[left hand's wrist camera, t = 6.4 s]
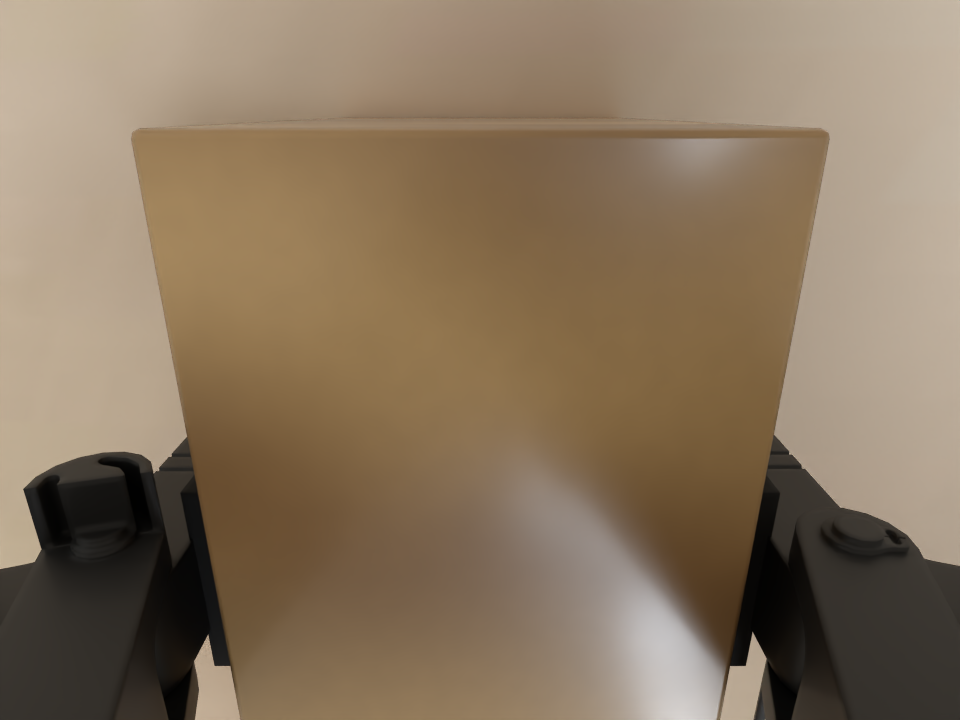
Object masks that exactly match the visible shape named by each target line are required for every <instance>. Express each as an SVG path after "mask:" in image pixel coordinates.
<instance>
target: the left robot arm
mask: <svg viewBox="0 0 960 720" xmlns="http://www.w3.org/2000/svg"><path fill="white" fill-rule="evenodd" d="M801 466H802V465H801V464H800V463H799V462H798V461H797V460H796V459H795V458H794V456H793V455H789V451H788V450H787V449H786V448H785V447H784V445H783V444H782V443H781V442H780V441H779V440H778V439H777V438H776V437H775V435H773V441H772V446H771V451H770V457H769V462H768V467H767V472H766V478H765V483H764V488H763V494H762V499H761V504H760V510H759V515H758V520H757V525H756V531H755V536H754V541H753V547H752V552H751V557H750V563H749V568H748V573H747V578H746V584H745V589H744V594H743V600H742V605H741V610H740V616H739V621H738V626H737V631H736V637H735V642H734V647H733V653H732V658H731V663H730V666H746V662H747V657H748V652H749V647H750V642H751V637H752V632H753V633H754V635H755V637H756V639H757V641H758V643H759V645H760V646H761V648H762V650H763V652H764V654H765V656H766V658H767V660H766V664H765V669H764V674H763V678H762V683H761V688H760V692H759V697H758V701H757V706H756V711H755V715H754V720H960V566H956V565H951V564H946V563H940V562H935V561H931V560H927V559H924V558H923V556H922V554H921V552H920V550H919V549H918V547H917V546H916V545H915V544H914V543H913V542H912V540H911V539H910V538H909V537H908V536H907V535H906V534H904V533H903V532H901V531H900V530H898V529H897V528H895V527H894V526H892V525H891V524H889V523H888V522H885V521H883V520H880V519H878V518H876V517H873V516H871V515H869V514H866V513H862V512H858V511H853V510H849V509H845V508H840V507H839V506H838V505H837V504H836V503H835V502H834V501H833V499H832V498H831V497H830V496H829V495H828V494H827V493H826V492H825V491H824V490H823V488H822V487H821V486H820V485H819V484H818V483H817V482H816V481H815V480H814V479H813V477H812V476H811V475H810V474H809V473H808V472H807V471H806V470H805V469H802V467H801ZM23 490H24V493H25V496H26V499H27V503H28V506H29V509H30V513H31V516H32V519H33V522H34V526H35V529H36V532H37V536H38V539H39V542H40V546H41V549H42V550H41V552H40V554H39V555H38V557H37V559H36V561H35V562H33V563H29V564H25V565H20V566H15V567H10V568H4V569H0V720H195V714H196V707H197V700H198V693H199V687H198V680H197V674H196V669H195V664H194V660H195V658H196V657H197V655H198V653H199V651H200V649H201V647H202V645H203V643H204V641H205V639H206V637H207V635H209V640H210V645H211V650H212V655H213V660H214V665H215V666H230V661H229V655H228V650H227V645H226V639H225V634H224V629H223V624H222V618H221V613H220V608H219V602H218V597H217V592H216V586H215V581H214V576H213V570H212V565H211V560H210V554H209V549H208V544H207V539H206V533H205V528H204V523H203V517H202V512H201V507H200V501H199V496H198V491H197V485H196V480H195V475H194V469H193V464H192V459H191V454H190V448H189V443H188V438H187V437H186V439H185V440H184V441H183V442H182V443H181V444H180V445H179V446H178V448H177V449H176V450H175V451H174V452H173V453H172V457H169V458H168V459H167V460H166V461H165V462H164V463H163V464H162V465H161V466H160V468H159V471H156V472H155V473H154V474H153V469H152V465H151V461H149V460H148V459H146V458H145V457H144V456H142V455H139V454H134V453H128V452H109V453H99V454H94V455H90V456H85V457H80V458H77V459H74V460H71V461H68V462H65V463H63V464H60V465H57V466H55V467H53V468H51V469H49V470H48V471H46V472H44V473H42V474H40V475H39V476H37V477H35V478H34V479H33V480H32V481H31V482H30V483H29V484H28V485H27V486H26V487H25V488H24V489H23Z"/></svg>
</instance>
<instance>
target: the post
mask: <svg viewBox="0 0 960 720" xmlns="http://www.w3.org/2000/svg"><path fill="white" fill-rule="evenodd" d="M131 140H132V145H133V151H134V156H135V161H136V167H137V172H138V177H139V183H140V188H141V193H142V198H143V204H144V209H145V214H146V220H147V225H148V230H149V236H150V241H151V246H152V252H153V257H154V262H155V268H156V273H157V278H158V284H159V289H160V294H161V299H162V305H163V310H164V315H165V321H166V326H167V331H168V337H169V342H170V347H171V353H172V358H173V363H174V369H175V374H176V379H177V384H178V390H179V395H180V400H181V406H182V411H183V416H184V422H185V427H186V432H187V438H188V443H189V448H190V454H191V459H192V464H193V469H194V475H195V480H196V485H197V491H198V496H199V501H200V507H201V512H202V517H203V523H204V528H205V533H206V539H207V544H208V549H209V554H210V560H211V565H212V570H213V576H214V581H215V586H216V592H217V597H218V602H219V608H220V613H221V618H222V624H223V629H224V634H225V639H226V645H227V650H228V655H229V661H230V666H231V671H232V677H233V682H234V687H235V693H236V698H237V703H238V709H239V714H240V719H241V720H720V716H721V711H722V706H723V700H724V695H725V690H726V684H727V679H728V674H729V669H730V663H731V658H732V653H733V647H734V642H735V637H736V631H737V626H738V621H739V616H740V610H741V605H742V600H743V594H744V589H745V584H746V578H747V573H748V568H749V563H750V557H751V552H752V547H753V541H754V536H755V531H756V525H757V520H758V515H759V510H760V504H761V499H762V494H763V488H764V483H765V478H766V472H767V467H768V462H769V457H770V451H771V446H772V441H773V435H774V430H775V425H776V420H777V414H778V409H779V404H780V398H781V393H782V388H783V382H784V377H785V372H786V367H787V361H788V356H789V351H790V345H791V340H792V335H793V329H794V324H795V319H796V314H797V308H798V303H799V298H800V292H801V287H802V282H803V276H804V271H805V266H806V261H807V255H808V250H809V245H810V239H811V234H812V229H813V223H814V218H815V213H816V208H817V202H818V197H819V192H820V186H821V181H822V176H823V170H824V165H825V160H826V155H827V149H828V144H829V133H828V132H827V131H825V130H823V129H821V128H801V127H782V126H763V125H743V124H724V123H705V122H685V121H666V120H647V119H627V118H333V119H313V120H294V121H275V122H255V123H236V124H217V125H197V126H178V127H159V128H140V129H138V130H136V131H133V133H132V138H131Z"/></svg>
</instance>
